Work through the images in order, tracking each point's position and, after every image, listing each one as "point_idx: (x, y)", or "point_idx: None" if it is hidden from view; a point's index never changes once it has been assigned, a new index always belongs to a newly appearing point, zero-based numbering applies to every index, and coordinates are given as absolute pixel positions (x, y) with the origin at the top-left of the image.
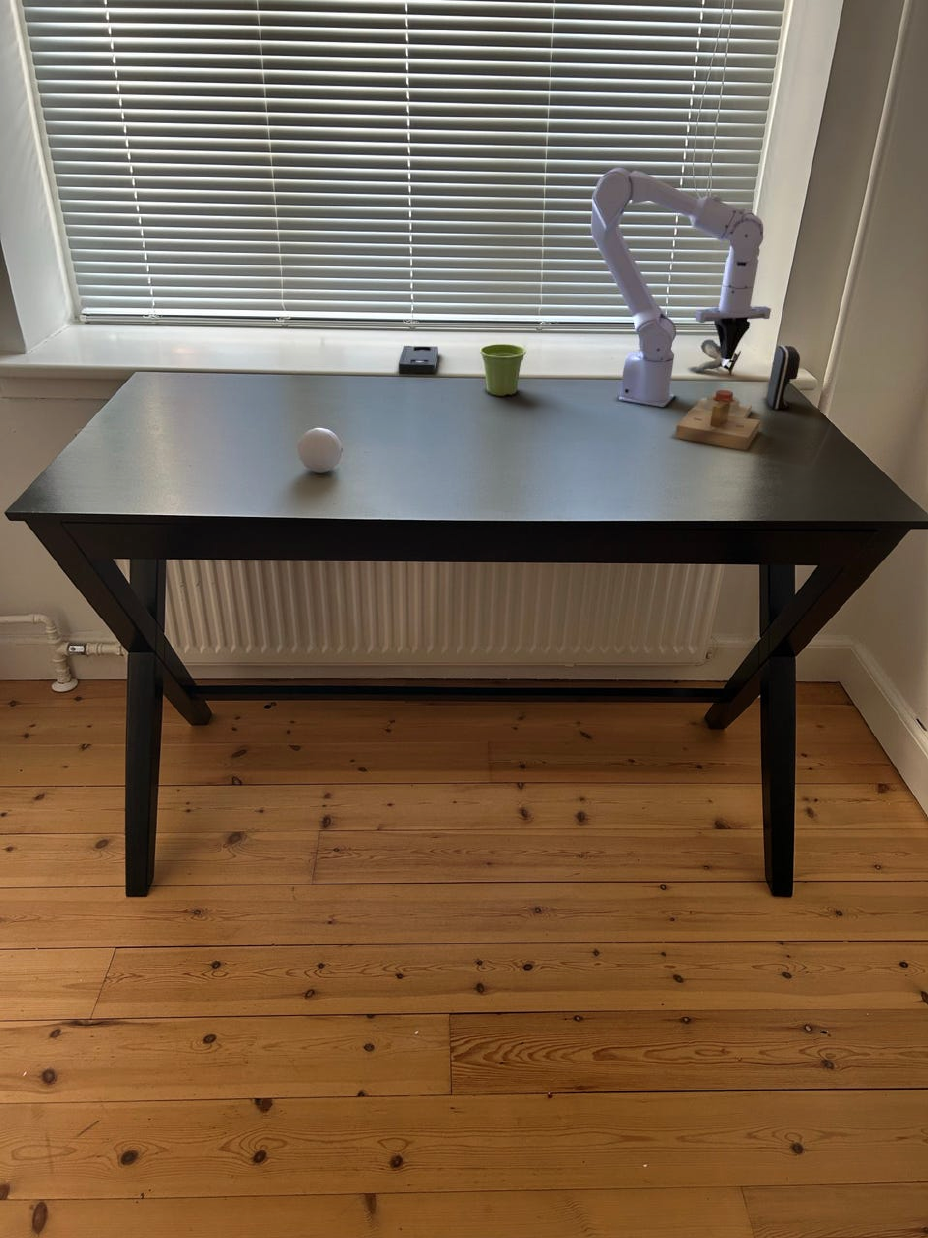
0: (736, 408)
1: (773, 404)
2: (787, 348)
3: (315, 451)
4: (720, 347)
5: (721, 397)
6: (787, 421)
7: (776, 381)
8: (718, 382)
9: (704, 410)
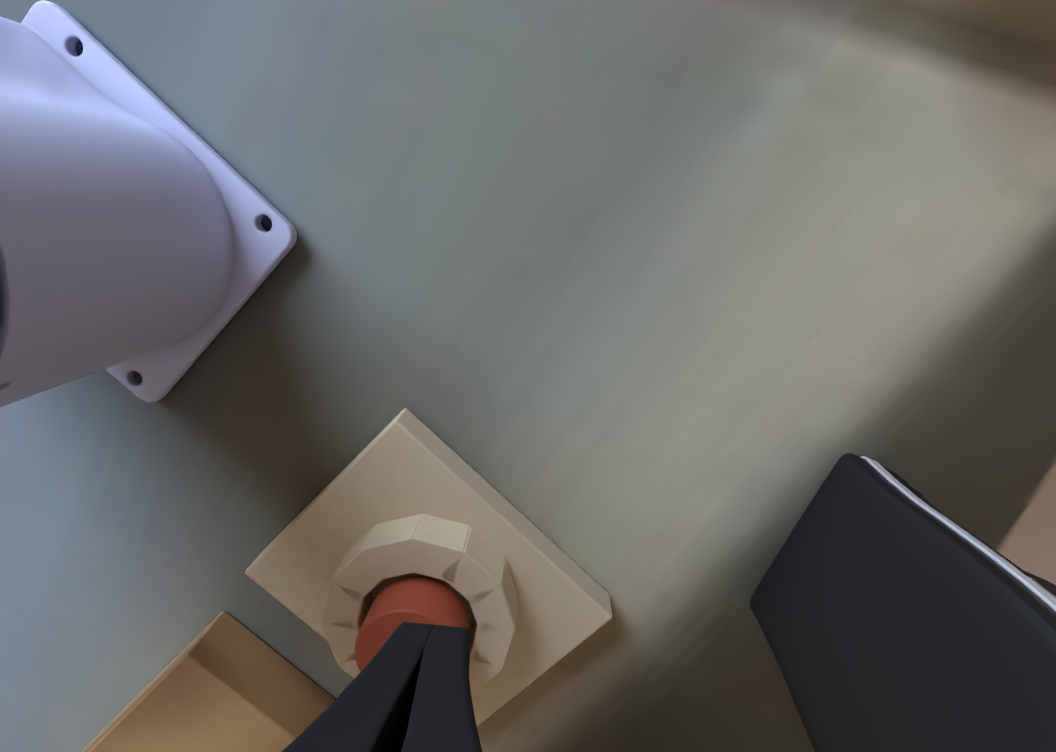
0: None
1: (757, 618)
2: None
3: None
4: (360, 673)
5: None
6: (706, 742)
7: (813, 705)
8: (777, 19)
9: (306, 607)
